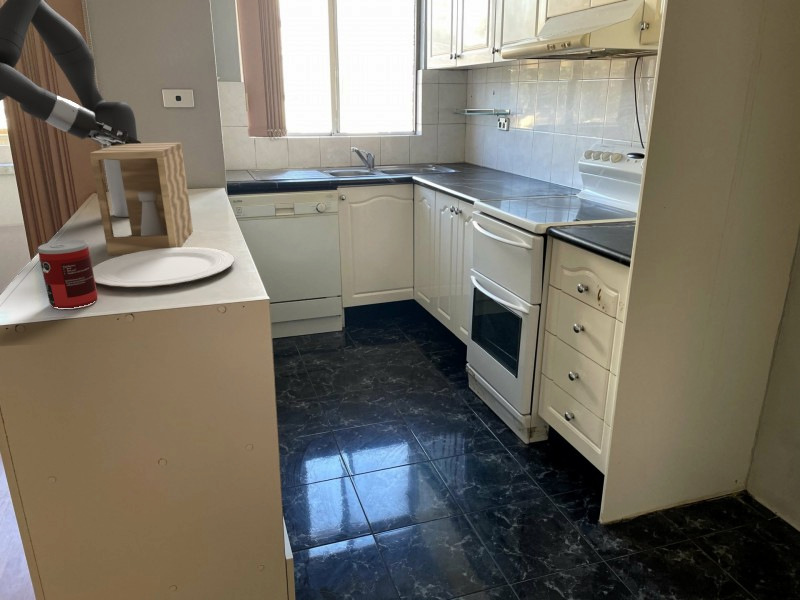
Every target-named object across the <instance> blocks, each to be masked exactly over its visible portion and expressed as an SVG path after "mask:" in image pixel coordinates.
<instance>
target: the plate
mask: <svg viewBox="0 0 800 600" xmlns="http://www.w3.org/2000/svg"><path fill="white" fill-rule="evenodd" d="M234 258H235V257H234V256H233V255H232V254H230V253H229V252H228V251H224V250H220V249H216V248H211V247H210V248H209V247H198V246H197V247H193V246H191V247H190V246H185V247H184V246H183V247H182V246H181V247H178V248H164V249H155V250H148V251H141V252H136V253H131V254H126V255H118V256H116V257H111V258H109V259H107V260H105V261H102V262H100V263H98V264H96V265H94V266H92V269H93V274H94V279H95V284H97V285H101V286H106V287H111V288H122V289H123V288H124V289H144V288H146V289H147V288H148V289H149V288H150V287H152V288H160V286H164V287H171V286H170V285H172V286H177V285H176V284H178V285H182V283H183V284H187V283H191V282H196V281H200V280H204V279H207V278H210V277H212V276H215V275H218V274H220V273H222V272H224V271H226V270H228V269H229V268H231V267H232V266H233V264H234V263H235V259H234Z"/></svg>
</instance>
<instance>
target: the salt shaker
mask: <svg viewBox="0 0 800 600" xmlns="http://www.w3.org/2000/svg"><path fill="white" fill-rule="evenodd" d="M138 197H139V200H140V201H142V223H141V235H140V236H147V235H167V234H166V231H165V228H164V225H163V222H162V219H161V216H160V213H159V210H158V207H157V204H156V201H155V200H157V193H156V192H155V191H151V190H147V191H142V192H140V193H139V194H138Z"/></svg>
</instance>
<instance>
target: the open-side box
mask: <svg viewBox="0 0 800 600" xmlns="http://www.w3.org/2000/svg"><path fill="white" fill-rule="evenodd" d="M182 145H183V144H182V142H150V143H147V142H146V143H142V142H141V144H117V145H114V146H111V147H108V146H106V147H107V148H106V147H104V148H100V149H99V150H98V149H97V150H95V151H92V152H89V157H90V162H91V168H92V173H93V179H94V184H95V189H96V195H97V199H98V206H99V211H100V216H101V222H102V227H103V233H104V239H105V244H106V250H107V255H108V256H122V255H126V254H131V253H136V252H141V251H148V250H155V249H164V248H178V247H182V246H183V245H184V243H186V241H187V240H188V239H189V237H190V236H191V235H192V233H193V232H194V230H193V228H194V227H193V221H192V214H191V205H190V197H189V192H188V183H187V176H186V175H187V174H186V169H185V161H184V154H183V146H182ZM104 159H119V162H120V168H121V174H122V180H123V186H124V192H125V198H126V204H127V210H128V216H129V217H128V221H129V226H130V232H131V233H130V234H131V235H128V236H126V235H125V236H115V234H114V230H113V224H112V219H111V213H110V207H109V206H110V205H109V200H108V196H107V191H106V184H105V178H104V173H103V168H102V161H101V160H104ZM147 190H151V191H155V192H156V193H157V200H155V201H156V204H157V207H158V210H159V213H160V216H161V219H162V222H163V225H164V228H165V231H166V234H165V235H147V236H141V223H142V201H140V200H139V197H138V194H139V193H140V192H142V191H147Z"/></svg>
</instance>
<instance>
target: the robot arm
mask: <svg viewBox="0 0 800 600" xmlns="http://www.w3.org/2000/svg"><path fill="white" fill-rule="evenodd" d="M30 24H32V26H33V27H34V29H35V30H36V32H37V33H38V34H39V36H40V37H41V40H42V41H43V42H44V44H45V46H46V48H47V49H48V51H49V53H50V55H52V57H53V59H54V60H55V62H56V64H57V65H58V67H59V68H60V70H61V71H62V72H63V74H64V76H65V77H66V79H67V81H68V82H69V84H70V86H71V87H72V89H73V92H75V94H76V96H77V98H78V100H79V102H80V103H81V105H80V104H77V103H76V102H74V101H72V100H70V99H68V98H65V97H63V96H60V95H58V94H56V93H53V92H52V91H49V90H47V89H45V88H43V87H41V86H39V85H37V84H36V83H34V82H33V81H32V80H31V79H29V78H28V77H27V76H25V74H23V73H21V72H20V71H18V70H17V69H15V68H16V66H17V65H18V62H19V60H20V59H21V56H22V52H23V47H24V43H25V40H26V36H27V33H28V29H29V27H30ZM95 67H96V66H95V58H94V55H93V52H92V51H91V48H90V47H89V46H88V44H87V42H86V40H85V39H84V37H83V36H82V33H80V31H79V30H78V29H77V28H76V27H75V26H74V25H73V24H72V23H70V22H69V21H68V20H67V19H66V18H64V17H63V16H62V15H60V14H59V13H58V12H57V11H55V9H53V8H52V7H51V6H50V5H49V4H48V3H46V1H45V0H6V1H5V2H3V4H2V5H1V7H0V102H1V101H3V100H4V99H6V98H7V97H9V98H11V99H12V100H13V101H15V102H16V103H19V108H20V109H21V110H22V111H23V112H24V113H26V114H28V115H30V116H31V117H34V118H36V119H38V120H41V121H43V122H45V123H47V124H49V125H50V126H52V127H54V128H56V129H58V130H61V131H63V132H65V133H67V134H70V135H72V136H73V137H75V138H78V139H81V140H85V139H86V138H88V139H90V140H92V141H94V142H96V143H98V144H101V145H103V146H104V147H105V148H107V147H111V146H114V145H117V144H142V142H141V141H140V140H138V133H137V123H136V117H135V113H134V110H133V109H132V107H131V106H130V104H128V103H127V102H124V101H106V100H105V98H103V96H102V94H101V93H100V91H99V89H98V87H97V84H96V82H95V81H96V80H95V73H96V72H95V69H96V68H95ZM103 160H104V167H105V171H106V177H107V182H108V188H109V194H110V200H111V206H112V207H111V208H112V212H113V216H114V217H117V218H129V216H128V210H127V204H126V198H125V192H124V186H123V180H122V174H121V168H120V162H119V159H103Z"/></svg>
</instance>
